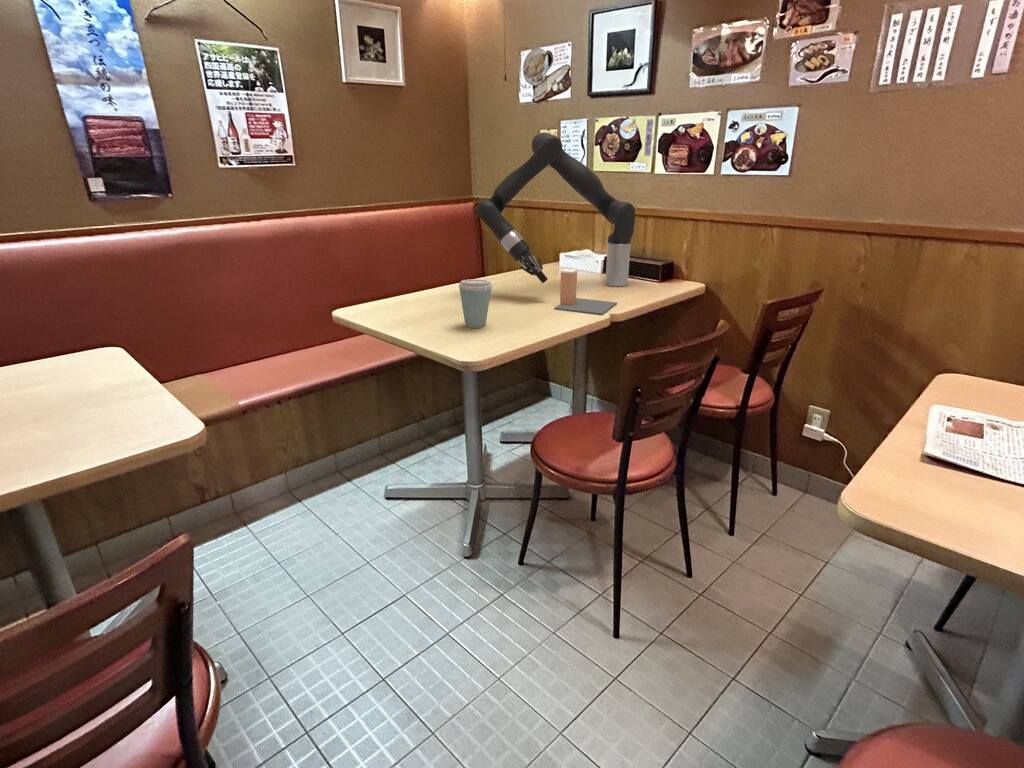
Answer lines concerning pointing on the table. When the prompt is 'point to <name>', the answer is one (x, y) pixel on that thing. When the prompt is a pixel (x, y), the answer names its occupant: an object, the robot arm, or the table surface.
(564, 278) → the terracotta block
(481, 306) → the disposable coffee cup
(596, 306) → the charcoal mat
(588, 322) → the table surface
